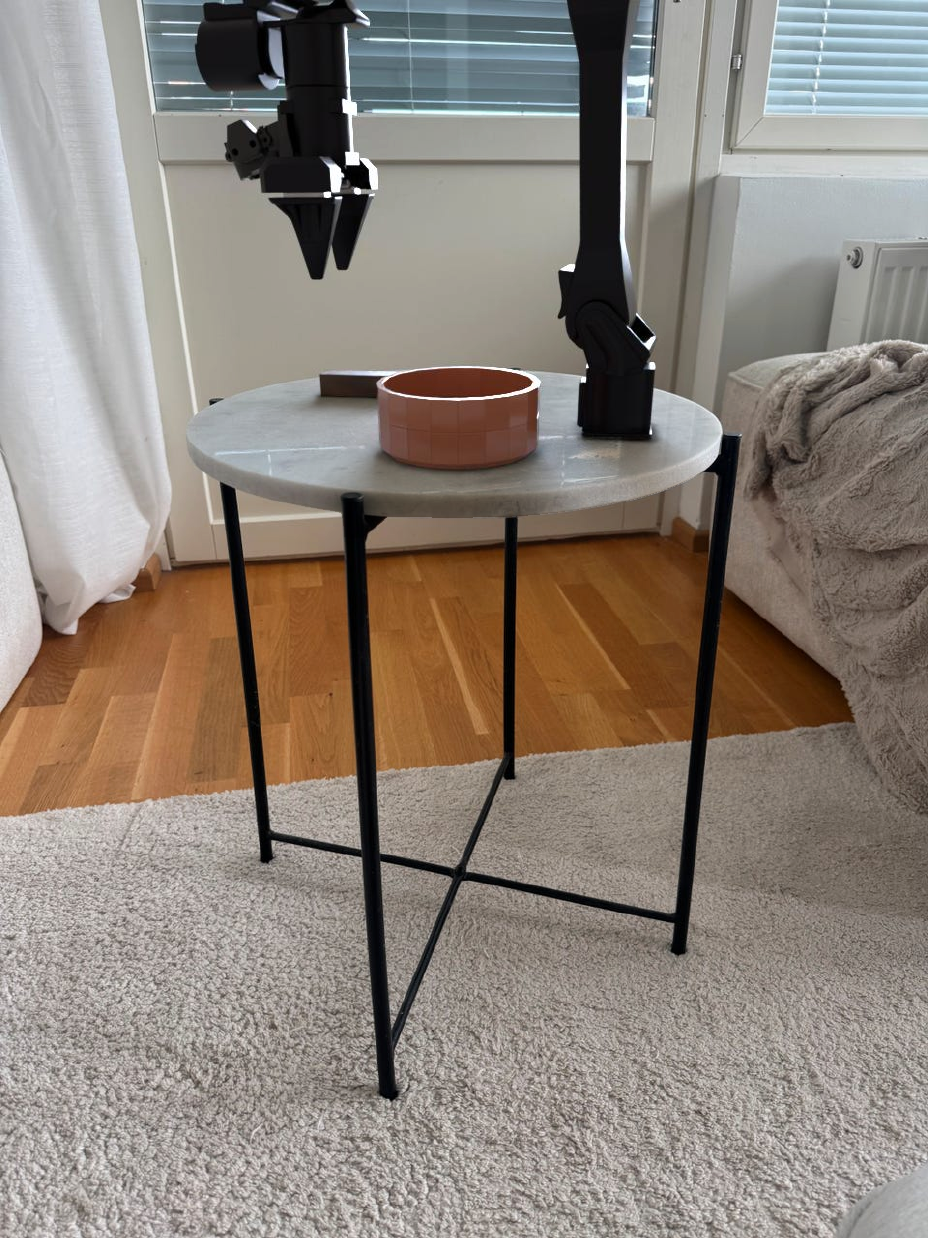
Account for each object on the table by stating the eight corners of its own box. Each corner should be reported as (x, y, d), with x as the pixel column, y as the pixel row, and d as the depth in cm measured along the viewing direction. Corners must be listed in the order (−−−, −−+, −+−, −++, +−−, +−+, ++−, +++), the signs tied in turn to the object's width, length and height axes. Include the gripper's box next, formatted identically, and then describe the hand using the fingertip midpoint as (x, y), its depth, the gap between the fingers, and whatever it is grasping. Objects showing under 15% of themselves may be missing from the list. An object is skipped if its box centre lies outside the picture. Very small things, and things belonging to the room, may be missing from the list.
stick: (411, 393, 104) (411, 371, 103) (407, 398, 101) (406, 376, 100) (326, 391, 105) (325, 369, 104) (320, 395, 103) (318, 374, 102)
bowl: (543, 431, 88) (545, 367, 85) (530, 475, 75) (532, 402, 73) (399, 426, 90) (396, 364, 87) (362, 468, 77) (358, 397, 75)
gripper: (265, 98, 91) (280, 265, 98) (189, 81, 74) (214, 284, 81) (374, 95, 90) (382, 265, 96) (322, 78, 73) (336, 285, 80)
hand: (330, 274), depth 89 cm, fingers open, 9 cm apart
